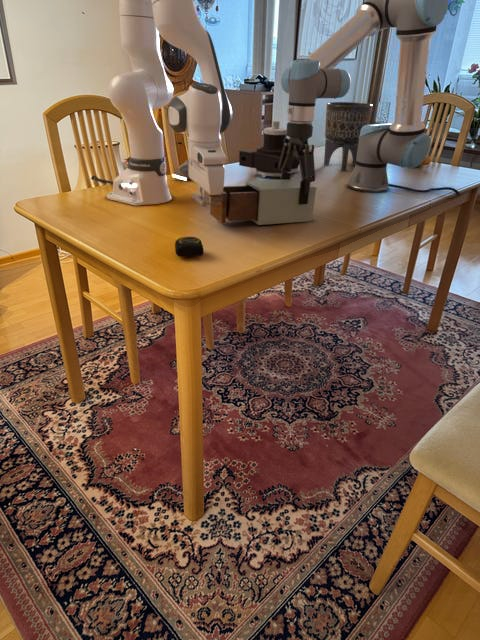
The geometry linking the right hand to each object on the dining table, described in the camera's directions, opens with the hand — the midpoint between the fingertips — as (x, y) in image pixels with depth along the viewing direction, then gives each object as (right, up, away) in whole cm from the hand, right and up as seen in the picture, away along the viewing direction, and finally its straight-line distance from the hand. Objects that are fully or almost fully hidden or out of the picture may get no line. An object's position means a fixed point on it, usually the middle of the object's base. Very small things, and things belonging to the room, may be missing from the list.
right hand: (293, 198), depth 140 cm
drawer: (-19, -7, -5) cm, 20 cm away
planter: (+31, +34, +71) cm, 84 cm away
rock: (-36, +20, +45) cm, 61 cm away
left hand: (-27, -4, -11) cm, 29 cm away
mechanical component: (+1, +26, +56) cm, 62 cm away
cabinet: (-5, -6, +1) cm, 8 cm away
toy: (+68, +37, +78) cm, 110 cm away
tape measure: (-29, -21, -26) cm, 45 cm away
